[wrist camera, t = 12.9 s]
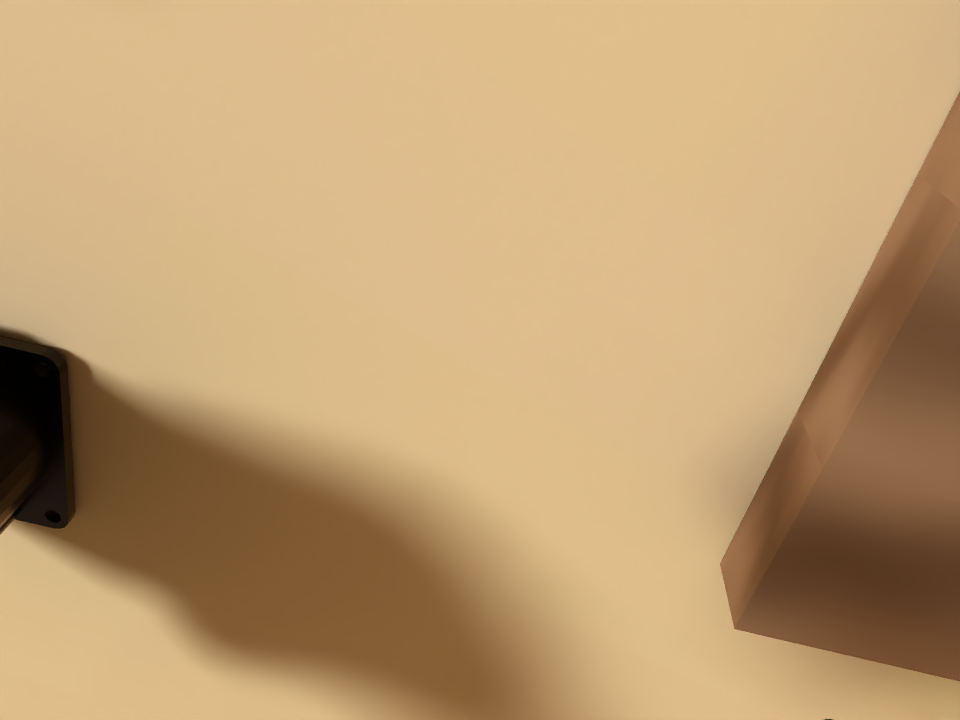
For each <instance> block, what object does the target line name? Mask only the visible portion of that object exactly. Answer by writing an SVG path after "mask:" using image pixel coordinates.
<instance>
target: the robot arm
mask: <svg viewBox="0 0 960 720" xmlns="http://www.w3.org/2000/svg"><path fill="white" fill-rule="evenodd" d="M42 363H45V364H46V365H47V366H48V367H49V368H50V370H49V369H46V368H45V367H44V366H43V365H42ZM56 512H57V513H56ZM74 515H75V496H74V478H73V459H72V441H71V422H70V404H69V386H68V367H67V363H66V360H65V359H64V358H63V356H62V355H61V354H60V353H58V352H57V351H56V350H53V349H51V348H48V347H44V346H39V345H35V344H31V343H27V342H22V341H18V340H14V339H10V338H5V337H1V336H0V534H1V533H2V532H3V531H4V530H5V529H6V528H7V527H8V525H9V524H10V523H11V522H12V521H13V520H14V519H16V520H20V521H25V522H29V523H33V524H38V525H42V526H47V527H51V528H58V529H60V528H64V527H65V526H66V525H67V524H68V523H69V522H70V521H71V519H72V518H73V517H74ZM824 720H832V719H824Z"/></svg>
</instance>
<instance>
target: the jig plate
mask: <svg viewBox="0 0 960 720" xmlns="http://www.w3.org/2000/svg"><path fill="white" fill-rule="evenodd" d="M720 565H721V570H722V574H723V579H724V583H725V588H726V592H727V597H728V601H729V606H730V611H731V615H732V620H733V624H734V629H737V630H741V631H746V632H750V633H754V634H759V635H763V636H767V637H772V638H776V639H780V640H784V641H789V642H793V643H797V644H802V645H806V646H810V647H815V648H819V649H823V650H828V651H832V652H836V653H840V654H845V655H849V656H853V657H858V658H862V659H866V660H871V661H875V662H879V663H884V664H888V665H892V666H897V667H901V668H905V669H909V670H914V671H918V672H922V673H927V674H931V675H935V676H940V677H944V678H948V679H953V680H957V681H960V93H959V95H958V97H957V99H956V100H955V102H954V104H953V106H952V108H951V110H950V112H949V114H948V116H947V118H946V120H945V122H944V124H943V126H942V128H941V130H940V132H939V134H938V136H937V138H936V140H935V142H934V144H933V146H932V148H931V150H930V152H929V154H928V156H927V158H926V160H925V162H924V164H923V165H922V167H921V169H920V171H919V173H918V175H917V177H916V179H915V181H914V183H913V185H912V187H911V189H910V191H909V193H908V195H907V197H906V199H905V201H904V203H903V205H902V207H901V209H900V211H899V213H898V215H897V217H896V219H895V221H894V223H893V225H892V227H891V229H890V230H889V232H888V234H887V236H886V238H885V240H884V242H883V244H882V246H881V248H880V250H879V252H878V254H877V256H876V258H875V260H874V262H873V264H872V266H871V268H870V270H869V272H868V274H867V276H866V278H865V280H864V282H863V284H862V286H861V288H860V290H859V292H858V294H857V295H856V297H855V299H854V301H853V303H852V305H851V307H850V309H849V311H848V313H847V315H846V317H845V319H844V321H843V323H842V325H841V327H840V329H839V331H838V333H837V335H836V337H835V339H834V341H833V343H832V345H831V347H830V349H829V351H828V353H827V355H826V357H825V359H824V360H823V362H822V364H821V366H820V368H819V370H818V372H817V374H816V376H815V378H814V380H813V382H812V384H811V386H810V388H809V390H808V392H807V394H806V396H805V398H804V400H803V402H802V404H801V406H800V408H799V410H798V412H797V414H796V416H795V418H794V420H793V422H792V424H791V425H790V427H789V429H788V431H787V433H786V435H785V437H784V439H783V441H782V443H781V445H780V447H779V449H778V451H777V453H776V455H775V457H774V459H773V461H772V463H771V465H770V467H769V469H768V471H767V473H766V475H765V477H764V479H763V481H762V483H761V485H760V487H759V489H758V490H757V492H756V494H755V496H754V498H753V500H752V502H751V504H750V506H749V508H748V510H747V512H746V514H745V516H744V518H743V520H742V522H741V524H740V526H739V528H738V530H737V532H736V534H735V536H734V538H733V540H732V542H731V544H730V546H729V548H728V550H727V552H726V554H725V555H724V557H723V559H722V561H721V563H720Z"/></svg>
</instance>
